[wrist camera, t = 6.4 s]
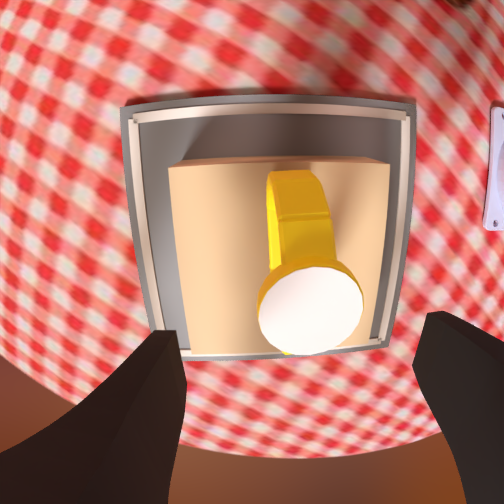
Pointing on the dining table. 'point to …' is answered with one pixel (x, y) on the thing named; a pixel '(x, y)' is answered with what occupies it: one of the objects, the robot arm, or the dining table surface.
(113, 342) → the dining table surface
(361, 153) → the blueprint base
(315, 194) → the watch
